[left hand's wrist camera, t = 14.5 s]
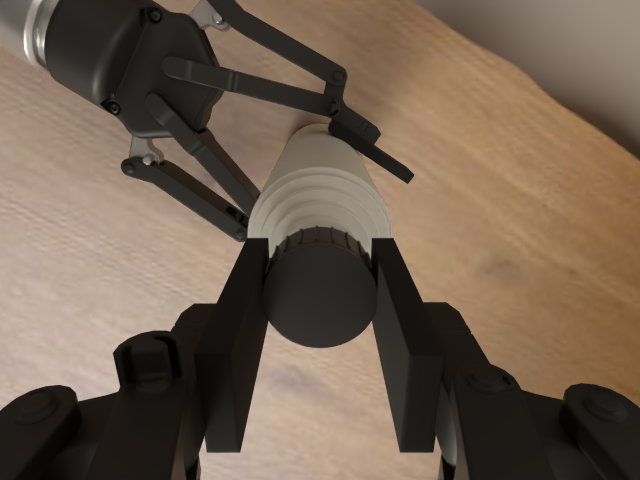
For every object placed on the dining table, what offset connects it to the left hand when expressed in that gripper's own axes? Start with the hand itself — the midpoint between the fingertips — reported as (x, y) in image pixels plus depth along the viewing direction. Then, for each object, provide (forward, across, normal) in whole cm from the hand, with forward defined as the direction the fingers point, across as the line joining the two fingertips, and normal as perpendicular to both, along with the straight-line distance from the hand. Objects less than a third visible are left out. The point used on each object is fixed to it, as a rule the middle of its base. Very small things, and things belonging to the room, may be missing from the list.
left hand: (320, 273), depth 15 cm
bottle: (+22, 0, 0) cm, 22 cm away
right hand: (+15, +4, -3) cm, 16 cm away
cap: (-2, 0, 0) cm, 2 cm away
